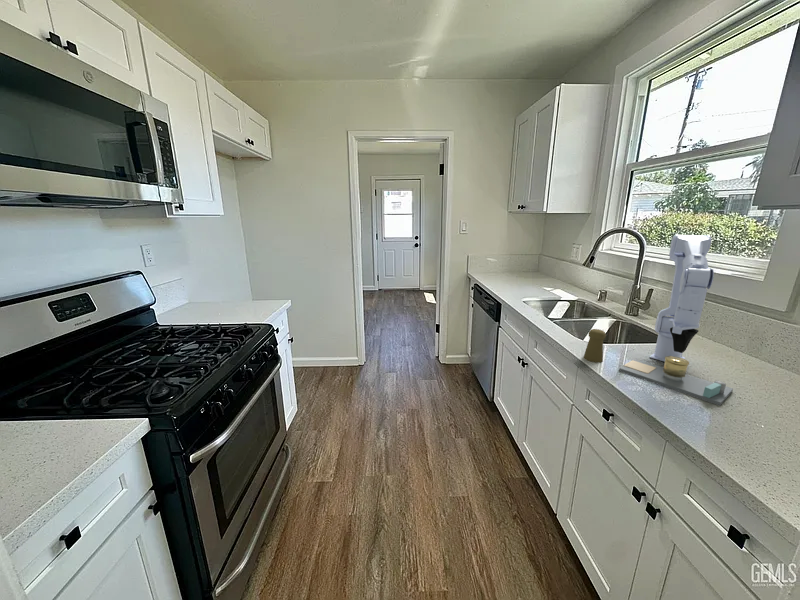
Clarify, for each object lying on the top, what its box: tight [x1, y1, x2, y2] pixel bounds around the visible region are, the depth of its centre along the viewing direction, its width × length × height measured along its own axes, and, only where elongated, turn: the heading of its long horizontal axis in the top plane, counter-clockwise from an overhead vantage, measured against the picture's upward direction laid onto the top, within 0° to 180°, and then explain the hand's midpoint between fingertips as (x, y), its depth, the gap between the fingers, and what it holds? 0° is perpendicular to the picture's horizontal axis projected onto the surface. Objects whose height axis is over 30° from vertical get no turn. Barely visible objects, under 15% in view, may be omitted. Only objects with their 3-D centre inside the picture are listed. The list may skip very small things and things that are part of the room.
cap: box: [663, 356, 690, 377], centre depth 102 cm, size 6×6×4 cm
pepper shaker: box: [583, 328, 607, 364], centre depth 117 cm, size 6×6×11 cm
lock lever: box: [703, 380, 727, 398], centre depth 93 cm, size 8×2×3 cm, turn 116°
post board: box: [618, 358, 734, 406], centre depth 103 cm, size 13×25×2 cm, turn 35°
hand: (679, 351), depth 101 cm, fingers closed
